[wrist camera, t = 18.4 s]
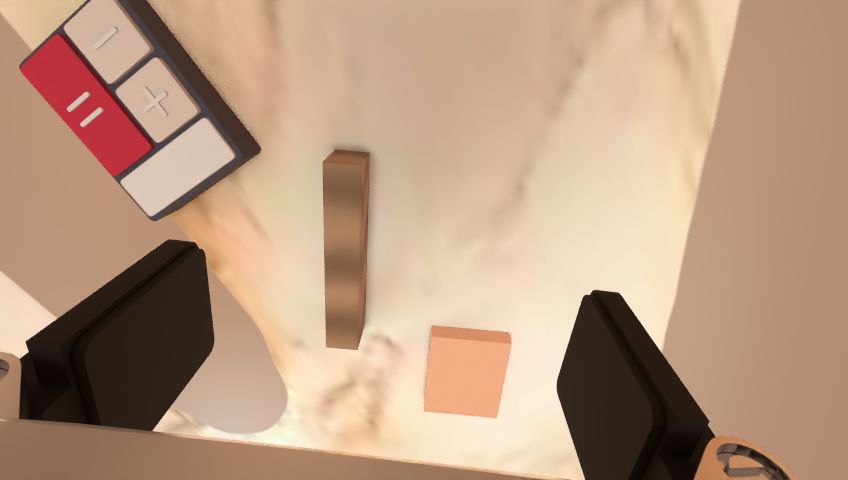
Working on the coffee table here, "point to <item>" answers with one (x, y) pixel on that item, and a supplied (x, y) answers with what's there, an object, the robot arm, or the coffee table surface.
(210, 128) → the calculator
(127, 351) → the robot arm
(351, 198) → the stick
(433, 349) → the tile
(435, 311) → the coffee table surface
